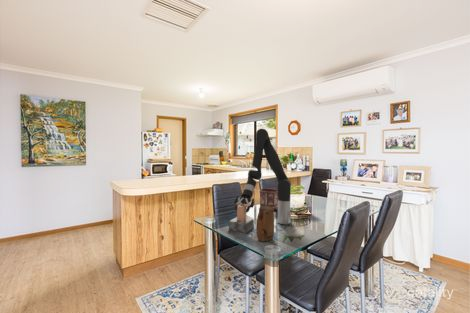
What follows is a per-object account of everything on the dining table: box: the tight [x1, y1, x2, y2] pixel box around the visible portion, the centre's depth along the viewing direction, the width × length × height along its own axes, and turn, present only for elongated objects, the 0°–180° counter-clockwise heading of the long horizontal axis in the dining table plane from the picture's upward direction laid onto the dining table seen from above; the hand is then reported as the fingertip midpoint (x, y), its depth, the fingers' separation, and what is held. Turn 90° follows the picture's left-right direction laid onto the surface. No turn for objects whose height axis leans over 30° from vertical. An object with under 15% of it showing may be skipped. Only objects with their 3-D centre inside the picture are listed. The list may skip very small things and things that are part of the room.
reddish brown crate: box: [259, 188, 278, 211], centre depth 211 cm, size 18×18×18 cm
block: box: [255, 206, 275, 242], centre depth 141 cm, size 11×8×20 cm
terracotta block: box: [236, 204, 248, 221], centre depth 159 cm, size 5×4×10 cm
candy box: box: [304, 194, 313, 215], centre depth 199 cm, size 14×6×16 cm, turn 84°
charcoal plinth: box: [228, 216, 255, 234], centre depth 160 cm, size 13×13×6 cm
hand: (241, 210), depth 158 cm, fingers open, 8 cm apart
